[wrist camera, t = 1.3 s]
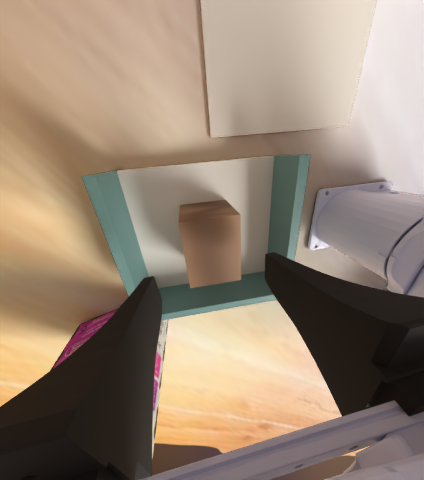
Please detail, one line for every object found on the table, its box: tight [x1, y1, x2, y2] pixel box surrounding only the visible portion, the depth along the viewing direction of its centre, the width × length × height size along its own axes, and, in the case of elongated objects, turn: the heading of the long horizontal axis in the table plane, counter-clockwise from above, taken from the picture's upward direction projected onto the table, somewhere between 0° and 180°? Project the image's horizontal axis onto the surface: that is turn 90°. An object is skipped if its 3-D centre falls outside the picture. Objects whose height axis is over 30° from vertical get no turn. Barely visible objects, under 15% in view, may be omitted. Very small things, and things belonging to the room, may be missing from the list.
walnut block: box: [178, 200, 241, 288], centre depth 16 cm, size 4×6×5 cm
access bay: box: [82, 154, 311, 321], centre depth 17 cm, size 16×14×6 cm
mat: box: [200, 0, 377, 138], centre depth 13 cm, size 14×16×1 cm
